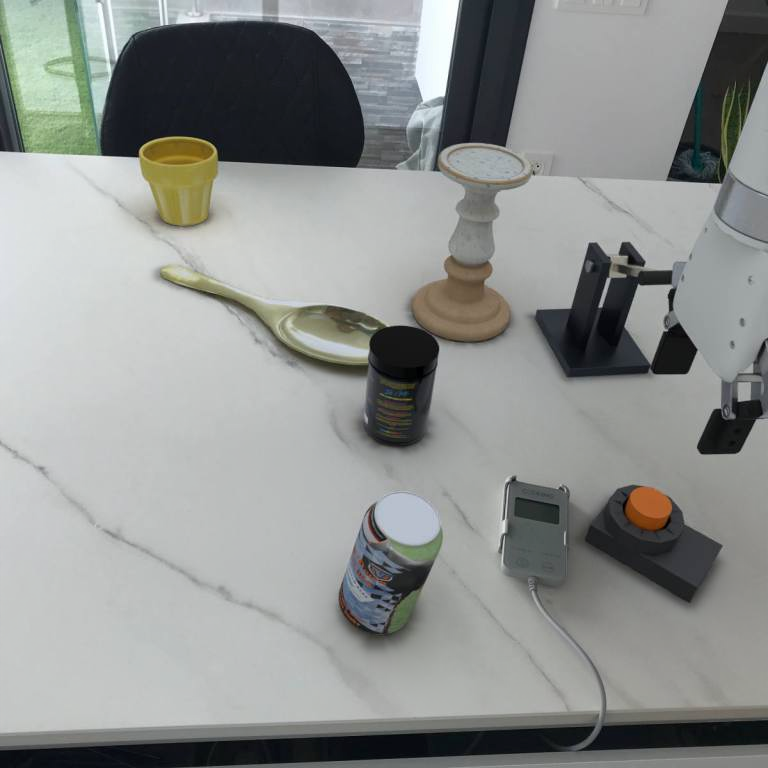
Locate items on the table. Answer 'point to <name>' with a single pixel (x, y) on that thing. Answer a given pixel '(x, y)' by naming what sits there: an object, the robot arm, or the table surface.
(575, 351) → the black lever switch stand
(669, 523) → the button switch box
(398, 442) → the supplement container
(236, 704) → the table surface
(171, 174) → the flower pot
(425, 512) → the beverage can
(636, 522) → the power button
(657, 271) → the t-shaped lever handle
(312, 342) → the spoon
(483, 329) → the candle holder
